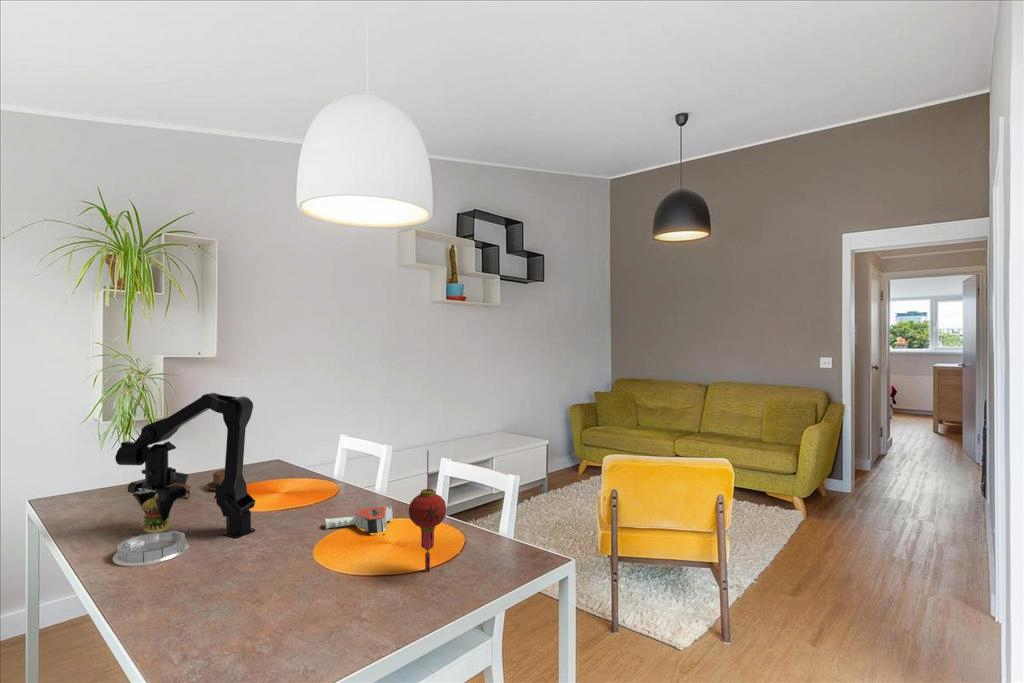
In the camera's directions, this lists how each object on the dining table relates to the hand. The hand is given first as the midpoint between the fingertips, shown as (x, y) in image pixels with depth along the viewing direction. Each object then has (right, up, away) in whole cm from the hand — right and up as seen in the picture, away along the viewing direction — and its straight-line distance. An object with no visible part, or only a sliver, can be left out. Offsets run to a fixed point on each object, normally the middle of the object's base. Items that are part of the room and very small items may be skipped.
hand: (157, 518), depth 161 cm
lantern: (+83, -5, -25) cm, 87 cm away
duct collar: (+8, -4, -15) cm, 18 cm away
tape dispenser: (+59, -5, +5) cm, 60 cm away
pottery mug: (-13, -4, +29) cm, 32 cm away
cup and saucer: (-4, -4, +45) cm, 45 cm away
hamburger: (0, -4, 0) cm, 4 cm away
